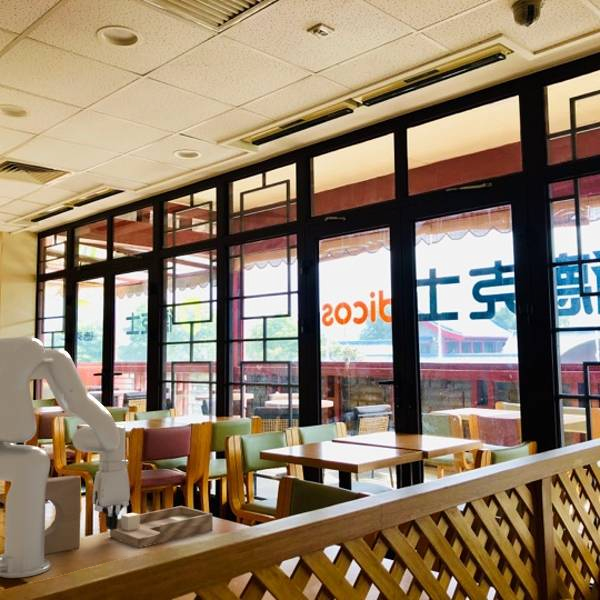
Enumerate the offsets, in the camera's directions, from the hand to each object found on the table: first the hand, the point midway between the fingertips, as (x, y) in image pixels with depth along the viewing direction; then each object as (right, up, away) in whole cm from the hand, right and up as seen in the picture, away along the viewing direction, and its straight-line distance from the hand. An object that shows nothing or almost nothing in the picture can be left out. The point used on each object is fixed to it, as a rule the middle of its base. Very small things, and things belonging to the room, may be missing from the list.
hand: (111, 528), depth 194 cm
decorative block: (-13, -3, -9) cm, 16 cm away
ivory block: (+4, -2, +5) cm, 7 cm away
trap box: (+13, -4, +7) cm, 16 cm away
